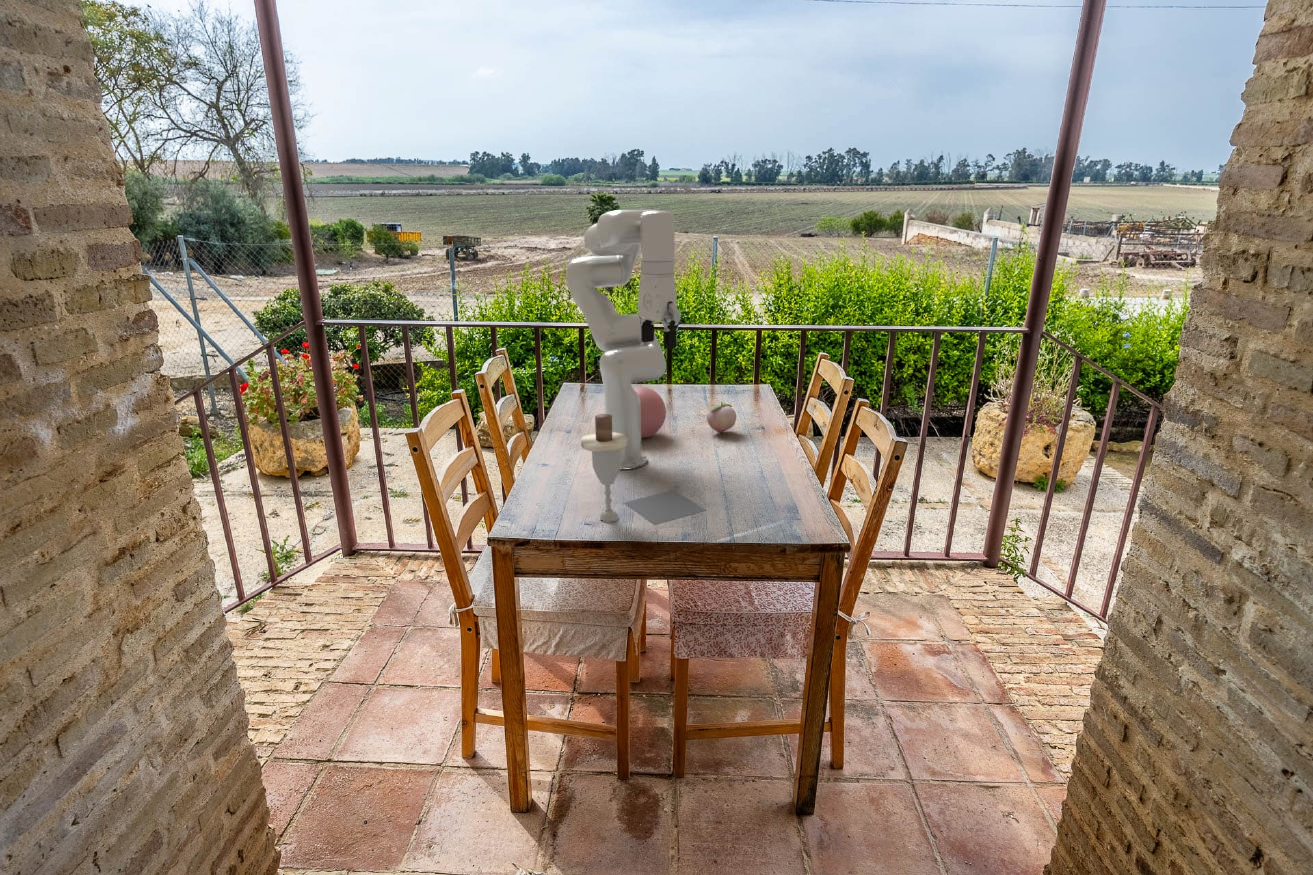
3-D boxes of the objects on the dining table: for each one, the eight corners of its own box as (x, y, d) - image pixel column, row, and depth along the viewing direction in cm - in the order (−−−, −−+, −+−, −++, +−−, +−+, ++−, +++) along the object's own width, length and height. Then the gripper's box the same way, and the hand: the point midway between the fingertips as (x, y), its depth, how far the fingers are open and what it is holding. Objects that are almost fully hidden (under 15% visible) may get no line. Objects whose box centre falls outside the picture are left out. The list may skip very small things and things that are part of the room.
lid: (573, 442, 153) (572, 414, 151) (613, 434, 158) (612, 406, 156) (594, 455, 145) (593, 426, 143) (636, 446, 150) (635, 418, 148)
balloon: (669, 424, 223) (668, 377, 218) (664, 445, 204) (663, 394, 199) (621, 423, 224) (619, 377, 219) (611, 444, 206) (610, 394, 201)
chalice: (625, 513, 160) (623, 439, 155) (624, 526, 154) (622, 449, 148) (593, 514, 160) (590, 439, 154) (591, 527, 154) (588, 450, 148)
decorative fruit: (725, 440, 208) (726, 407, 205) (702, 435, 213) (702, 403, 210) (741, 431, 215) (742, 400, 212) (719, 427, 220) (719, 396, 217)
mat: (623, 504, 165) (623, 502, 165) (673, 492, 172) (673, 489, 171) (654, 527, 153) (654, 524, 153) (706, 512, 160) (706, 510, 160)
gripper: (624, 267, 161) (626, 340, 167) (664, 273, 147) (664, 353, 153) (652, 265, 165) (653, 337, 170) (693, 271, 151) (693, 349, 156)
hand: (658, 344), depth 161 cm, fingers open, 9 cm apart
